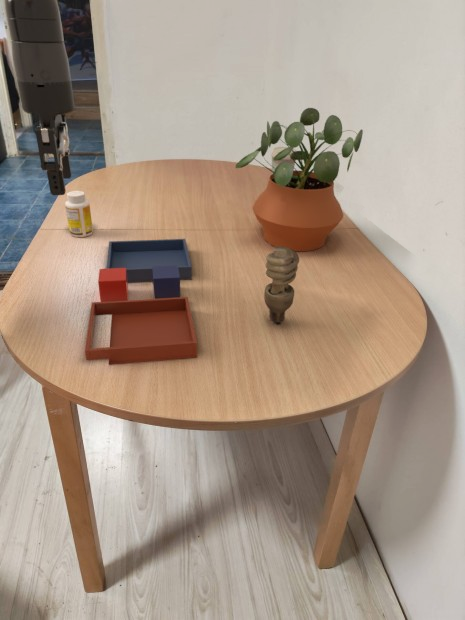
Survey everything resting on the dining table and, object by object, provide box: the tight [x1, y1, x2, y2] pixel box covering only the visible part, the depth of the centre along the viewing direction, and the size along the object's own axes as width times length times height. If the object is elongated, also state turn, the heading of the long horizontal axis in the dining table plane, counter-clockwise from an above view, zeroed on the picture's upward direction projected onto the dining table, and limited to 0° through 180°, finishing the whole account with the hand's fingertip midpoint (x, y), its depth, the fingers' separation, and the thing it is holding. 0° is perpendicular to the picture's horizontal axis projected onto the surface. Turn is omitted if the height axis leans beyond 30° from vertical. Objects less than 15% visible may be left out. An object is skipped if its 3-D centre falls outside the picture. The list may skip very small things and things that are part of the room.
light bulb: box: [263, 246, 300, 325], centre depth 79 cm, size 6×6×15 cm
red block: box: [97, 268, 129, 302], centre depth 87 cm, size 5×5×5 cm
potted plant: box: [235, 107, 364, 252], centre depth 107 cm, size 23×28×30 cm
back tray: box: [106, 238, 193, 284], centre depth 99 cm, size 17×14×3 cm
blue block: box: [152, 265, 181, 299], centre depth 89 cm, size 5×5×5 cm
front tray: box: [84, 296, 198, 365], centre depth 77 cm, size 17×14×3 cm
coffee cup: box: [270, 146, 297, 175], centre depth 148 cm, size 8×8×12 cm
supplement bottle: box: [64, 190, 94, 238], centre depth 110 cm, size 6×6×10 cm
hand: (61, 185), depth 75 cm, fingers open, 8 cm apart
